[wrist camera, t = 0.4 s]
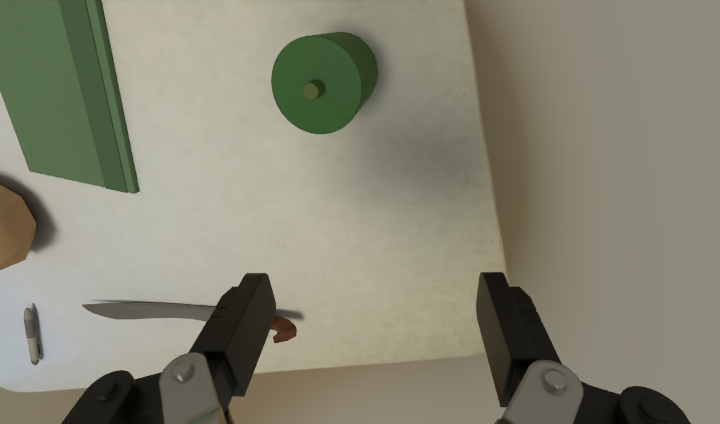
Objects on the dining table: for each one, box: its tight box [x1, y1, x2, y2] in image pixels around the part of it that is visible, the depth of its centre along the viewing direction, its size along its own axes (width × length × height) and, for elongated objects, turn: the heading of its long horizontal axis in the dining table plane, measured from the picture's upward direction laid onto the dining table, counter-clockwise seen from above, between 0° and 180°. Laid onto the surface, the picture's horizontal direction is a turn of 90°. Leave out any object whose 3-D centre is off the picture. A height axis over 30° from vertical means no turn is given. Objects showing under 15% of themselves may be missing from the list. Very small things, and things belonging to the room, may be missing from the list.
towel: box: [0, 0, 139, 194], centre depth 31 cm, size 20×12×1 cm, turn 172°
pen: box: [24, 308, 42, 365], centre depth 52 cm, size 1×14×1 cm, turn 157°
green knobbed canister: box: [271, 32, 377, 134], centre depth 23 cm, size 6×6×9 cm
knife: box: [82, 303, 297, 343], centre depth 42 cm, size 4×1×30 cm
